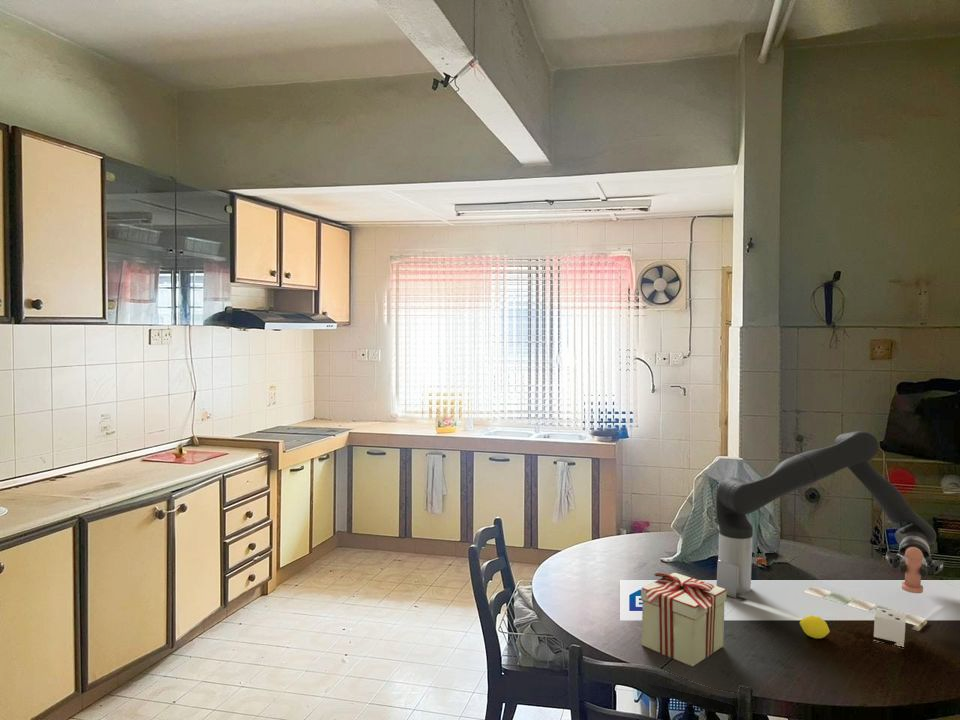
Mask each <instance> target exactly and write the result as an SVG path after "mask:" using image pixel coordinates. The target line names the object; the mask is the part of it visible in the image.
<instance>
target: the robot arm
mask: <svg viewBox="0 0 960 720" xmlns="http://www.w3.org/2000/svg"><path fill="white" fill-rule="evenodd" d="M879 448H880V444H879V440H878V439H877V438H876V436H875V435H873V434H872V433H870V432H867V431H862V430H856V431H852V432H851V431H850V432H844V433H842V434H841V433H840V434H839V435H838V436H837V437H836V438H835V439H834V443H833V444H832V445H830V446H825V447H822V448H816V449H812V450H808V451H804V452H801V453H799V454H798V453H797V454H795V455H792V456H791V457H788V458H786V459H784V460H782V461H780V462H779V463H778V464H777V466H775V468H774V469H773V471H772V472H771V473H770V474H769V475H767V476H766V477H763V478H759V479H758V480H755V481H750V482H746V481H745V480H742V479H739V478H737V477H727V478H724V479H723V480H722V481H721V482H720V483H719V485H718V487H717V491H716V499H715V501H716V509H715V510H716V523H717V525H718V529H719V530H718V556H717V558H718V559H717V565H716V586H718V587H721V588H724V589H726V596H727V595H728V596H727V597H731V598H734V599H737V598H740V596H742V595H744V594H748V593H750V592H751V590H752V589H751V585H752V562H753V561H752V560H753V533H754V532H753V531H754V530H753V529H754V528H753V526H752V523H750V522H749V520H748V518H747V516H746V515H749V514H751V513H754V512H756V511H758V510H759V509H761V508H762V507H765V506H766V505H768V504H770V503H772V502H773V501H775V500H777V499H779V498H783V496H786V495H788V494H790V493H793V492H795V491H797V490H801V489H803V488H805V487H808V486H810V485H812V484H815V483H816V482H819V481H822V480H823V479H825V478H827V477H829V476H831V475H833V474H835V473H837V472H839V471H841V470H842V469H846V468H848V470H850V472H851V473H852V474H853V475H854V476H855V477H856V478H857V479H858V480H859V482H860V483H861V484H862V485H863V486H864V487H865V488H866V489H867V491H869V494H871V496H872V497H873V498H874V500H875V501H876V503H877V504H878V505H879V507H880V508H881V510H882V512H883V513H884V514H885V516H886V517H887V518H888V520H889V521H890V522H891V523H893V524H901V523H910V524H908V525H905V526H902V527H900V528H898V529H897V530H896V531H895V533H894V537H895V538H894V539H895V541H896V543H897V544H898V545H899V547H898V552H897V553H896V554H894V553H892V552H891V551H886V552H885V562H887V564H889V566H890V567H892V568H893V569H897V568H898V569H899V570H898V571H899V572H901V574H903V575H905V570H906V556H905V552H906V550H907V549H908V548H909V547H916V548H918V549H920V550H921V551H922V553H923V558H922V566H921V578H924V577H926V576H928V573H929V574H931V575H936V574H938V573H940V572H941V571H943V569H944V561H943V560H941V559H938V560H936V559H935V560H933V558H931V550H930V545H931V544H934V543H935V542H936V541H937V533H936V531H935V529H934V528H933V527H932V525H931V524H929V522H927V521H926V520H925V519H924V518H922V517H921V516H920V515H919V514H918V513H916V511H915V510H914V509H913V508H912V507H911V506H910V504H909V503H908V502H907V500H906V498H905V497H904V495H903V494H902V493H901V491H900V490H899V489H898V488H897V487H896V486H895V485H894V484H893V483H891V481H889V480H888V479H887V478H886V477H884V475H882V474H881V473H880V472H878V470H876V469H875V468H874V467H873V466H872V464H871V463H870V461H871V460H873V458H875V457H876V456H877V454H878V451H879V450H880V449H879Z"/></svg>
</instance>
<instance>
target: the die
mask: <svg viewBox="0 0 960 720" xmlns="http://www.w3.org/2000/svg"><path fill="white" fill-rule="evenodd" d="M906 613H907V612H904V613H902V612H901V611H900V612H896V611H891V610H886V609H881V608H877V609H876V613H874V622H873V623H874V624H873V638H877V639H882V640H885V641H890V642H894V644H893V645H897V646H902V647H904V648H905V639H906V624H907V623H906ZM874 641H877V642H876V643H878V642H882V643H884V642H883V641H879V640H876V639H873V642H874ZM882 643H881V644H882Z"/></svg>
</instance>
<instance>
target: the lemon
mask: <svg viewBox="0 0 960 720" xmlns="http://www.w3.org/2000/svg"><path fill="white" fill-rule="evenodd" d="M799 626H800V627H801V629H802V631H803V632H804V633H805V634H806V635H807V636H808V637H811V638H812V639H816V640H817V639H823V638H825V637H826V636H827V635H828V634H829V633H830V632H831V631H830V628H829V626H828V624H827V622H826V621H825V620H824V619H823V618H821V617H820V616H817V615H808V616H805V617H804V618H803V619H802V620H800V621H799Z"/></svg>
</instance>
